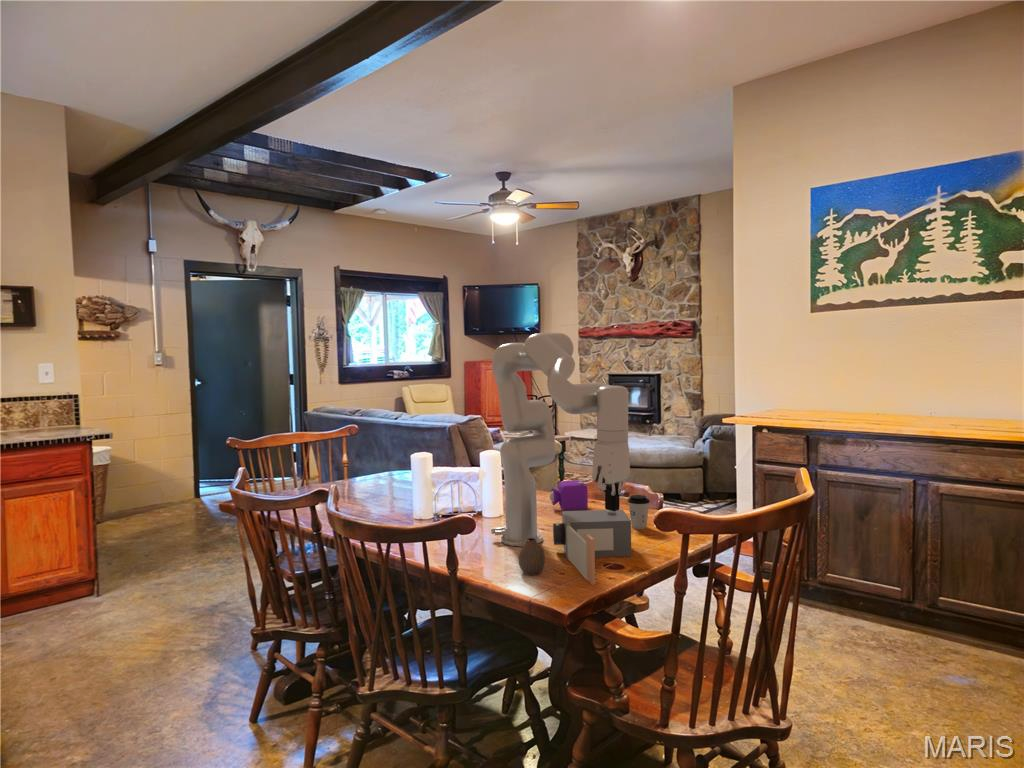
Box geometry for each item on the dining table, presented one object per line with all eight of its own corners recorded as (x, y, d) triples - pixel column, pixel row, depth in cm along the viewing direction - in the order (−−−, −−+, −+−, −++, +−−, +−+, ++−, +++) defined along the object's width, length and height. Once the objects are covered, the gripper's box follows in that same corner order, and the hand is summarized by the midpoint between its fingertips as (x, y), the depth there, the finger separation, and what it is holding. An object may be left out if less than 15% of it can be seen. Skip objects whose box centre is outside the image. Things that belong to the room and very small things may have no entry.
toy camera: (546, 507, 224) (545, 480, 224) (580, 503, 229) (579, 477, 228) (556, 514, 214) (556, 486, 214) (592, 510, 218) (591, 482, 218)
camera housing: (555, 558, 168) (554, 519, 168) (552, 544, 180) (551, 508, 180) (631, 556, 168) (631, 517, 168) (623, 542, 180) (622, 506, 180)
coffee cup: (649, 524, 198) (649, 494, 198) (650, 530, 191) (650, 499, 191) (628, 524, 200) (627, 493, 199) (628, 530, 193) (627, 499, 192)
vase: (517, 568, 162) (516, 535, 161) (543, 567, 162) (542, 534, 162) (519, 578, 155) (518, 544, 154) (546, 576, 155) (545, 542, 155)
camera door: (566, 558, 168) (565, 515, 167) (570, 558, 168) (569, 515, 168) (591, 588, 146) (590, 539, 146) (596, 588, 147) (595, 539, 146)
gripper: (617, 431, 157) (617, 500, 158) (581, 438, 146) (581, 513, 148) (642, 434, 151) (641, 506, 153) (607, 442, 141) (606, 519, 142)
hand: (612, 509), depth 150 cm, fingers closed
